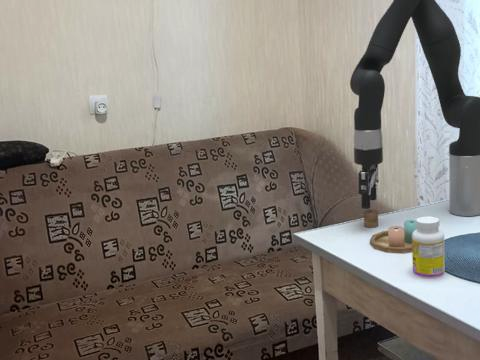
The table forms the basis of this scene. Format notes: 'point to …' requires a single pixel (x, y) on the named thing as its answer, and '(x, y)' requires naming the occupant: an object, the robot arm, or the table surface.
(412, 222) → the bead
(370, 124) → the robot arm
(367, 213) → the bead
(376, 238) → the tray
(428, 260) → the supplement bottle
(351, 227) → the table surface
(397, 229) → the bead
